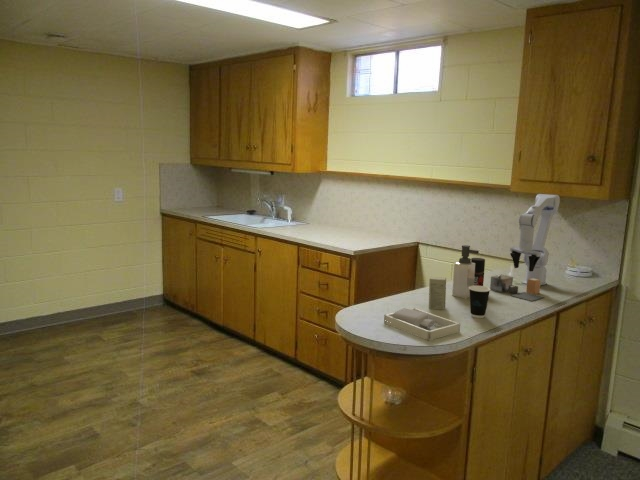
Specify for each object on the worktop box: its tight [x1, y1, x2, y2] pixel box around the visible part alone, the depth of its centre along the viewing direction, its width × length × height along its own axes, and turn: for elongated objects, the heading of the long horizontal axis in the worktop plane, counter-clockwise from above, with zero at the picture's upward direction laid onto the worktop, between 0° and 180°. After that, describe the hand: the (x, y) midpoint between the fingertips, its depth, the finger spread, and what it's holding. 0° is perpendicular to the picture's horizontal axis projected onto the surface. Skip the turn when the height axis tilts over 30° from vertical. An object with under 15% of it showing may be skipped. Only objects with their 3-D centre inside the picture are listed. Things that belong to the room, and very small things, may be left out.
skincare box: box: [428, 276, 447, 311], centre depth 208 cm, size 6×4×12 cm
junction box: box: [489, 274, 514, 294], centre depth 238 cm, size 9×7×7 cm
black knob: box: [507, 284, 519, 295], centre depth 233 cm, size 4×4×3 cm
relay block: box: [525, 278, 541, 295], centre depth 234 cm, size 4×4×6 cm
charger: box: [393, 307, 439, 329], centre depth 185 cm, size 5×9×15 cm
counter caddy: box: [383, 307, 461, 342], centre depth 185 cm, size 16×22×3 cm
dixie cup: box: [469, 285, 492, 319], centre depth 198 cm, size 8×8×11 cm
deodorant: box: [470, 257, 486, 286], centre depth 233 cm, size 6×6×15 cm
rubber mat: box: [510, 291, 546, 302], centre depth 227 cm, size 10×10×1 cm
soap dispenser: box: [452, 244, 480, 299], centre depth 225 cm, size 6×9×22 cm
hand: (523, 269), depth 238 cm, fingers open, 7 cm apart
